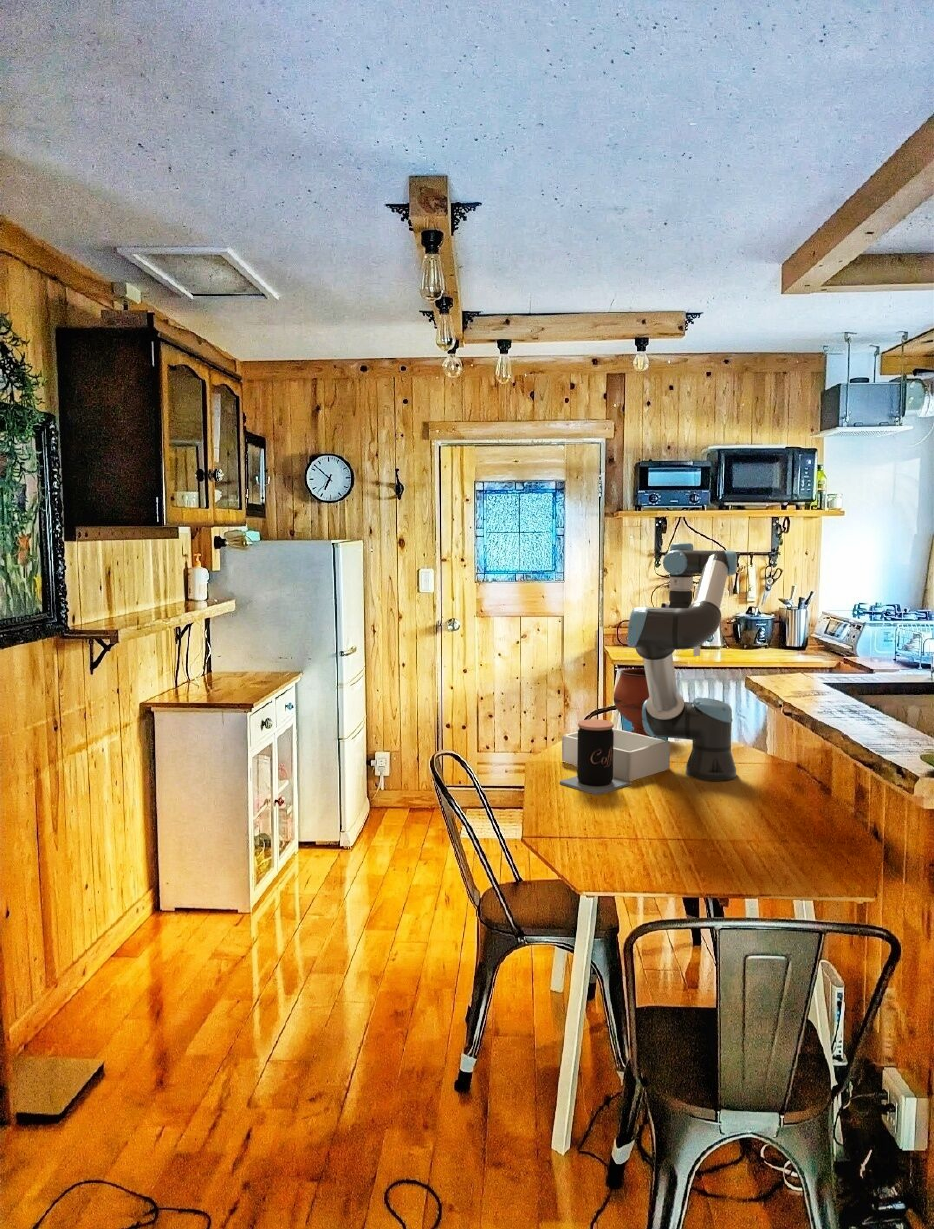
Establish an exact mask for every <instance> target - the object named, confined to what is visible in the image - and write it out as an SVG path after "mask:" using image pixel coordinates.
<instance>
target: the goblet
mask: <svg viewBox="0 0 934 1229" xmlns="http://www.w3.org/2000/svg"><path fill="white" fill-rule="evenodd" d="M649 697H650V696H649V691H648V685H647V679H646V674H645V668H625V669H621V670H620V676H619V678H618V680H617V683H616V685H615V689H614V692H613V704H614V706H615V708H616V710H617V711H618V713H619V714H620V715H621V716H622V717H623V718H625V719H626V720H627V721H628V722H630V723H631V726H632V727H633V729H632V730H631V732H632V733H636V734H640V735H644V736H649V737H652V736H650V735H648V734H647V733H646V732H645V730H644V727H643V722H642V721H643V718H642V708H643V704H644V702H645V701H646V700H648V698H649Z"/></svg>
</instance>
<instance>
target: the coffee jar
mask: <svg viewBox="0 0 934 1229" xmlns="http://www.w3.org/2000/svg"><path fill="white" fill-rule="evenodd" d="M614 725H615V724H614V722H612V721H610V720H605V719H596V718H593V719H592V718H591V719H582V720H579V721H578V722H577V726H578V730H577V732H578V747H577V766H576V773H577V774H576V776H577V778H578V780H579V781H580V783H581V784H584V785H587V786H606V785H609V784H610V783H611V782H612V780H613V778H614V777H613V747H614V732H613V730H612V728H614Z"/></svg>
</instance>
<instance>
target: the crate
mask: <svg viewBox="0 0 934 1229" xmlns="http://www.w3.org/2000/svg"><path fill="white" fill-rule="evenodd" d="M612 730H613V732H614V747H613V778H617V779H620V780H624V781H627V782H633V781H634V780H635V781H636V780H639V779H641V778H645V777H648V776H652V775H654V774H659V773H661V772H664V771H668V770H670V768H671V767H670V764H671V762H670V760H671V758H670V757H671V741H669V740H665V739H663V738H662V739H660V738H658V737H657V738H656V737H654V736H651V737H649V736H644V735H640V734H636V733H632V731H627V730H623V729H618V728H614V727H613V728H612ZM577 747H578V731H575V732H571V733H567V734H563V735H562V736H561V762H562V761H565V762H567V763H569V764H568V765H570V764H572V765H571V766H573V765H574V767H577Z"/></svg>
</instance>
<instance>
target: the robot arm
mask: <svg viewBox="0 0 934 1229" xmlns="http://www.w3.org/2000/svg"><path fill="white" fill-rule="evenodd" d="M662 566H663V569H664V570H665V572H667V574H669V589H670V590H669V592H668V601H669V602H663V603H661V606H660V607H653V606H652V607H651V606H650V607H649V606H647V605H645V606H637V607H634V608H633V609H632V611H631V612H630V615H629V619H628V625H627V634H626V643H627V646H628V647H630V648H632V649H633V648H634V649H635V652H636V653H637V654H638V656H639V657H641V659H642V661H643V662H642V663H643V667H644V668H643V669H645V674H646V679H647V685H648V691H649V696H650V697H649V698H648V700H646V701H645V702H644V704H643V708H642V718H643V721H642V722H643V727H644V730H645V732H646V733H647V734H648V735H650V736H651V737H655V738H656V737H657V738H659V739H660V738H667V739H678V740H679V739H681V740H691V741H692V744H691V746H692V748H691V751H690V753H689V754H690V755H689V758H688V759H687V763H686V765H685V766H686V767H685V773H686V775H687V776H689V777H691V778H694V779H698V780H702V781H710V782H711V781H713V782H724V781H730V780H734V779H736V777H737V766H736V763H735V760H734V757H733V753H732V726H733V725H732V724H733V710H732V706H730V705H729V704H728V703H727V702H724V701H722V700H720V699H715V698H710V697H695V698H694V699H693V700H692V702H689V701H685V700H684V698H683V697H682V695H681V694H680V693H679V692H678V686H677V685H678V684H677V678H676V672H675V663H674V657H673V653H674V652H675V651H676V650H681V651H682V650H683V651H685V650H691V649H693V654H692V656H693V657H701V647H702V646H703V644H704V643H706V642H707V641H708V640H710V638H711V637H713V636H714V635H715V633H716V632H717V631H718V629H719V627H720V625H721V620H722V611H721V604H722V600H723V597H724V596H723V595H724V593H725V592H724V591H725V588H726V583H727V579H728V576H733V575H736V573H737V570H738V555H737V552H736V551H733V550H725V549H722V550H698V549H696V550H694V544H693V543H691V542H674V543H671V544H670V548H669V552H667V553H666V554H665V555H664V557H663V559H662ZM694 575H700V578H699V582H698V586H697V588H696V592H695V596H694V598H693V595H694V594H693V589H694Z"/></svg>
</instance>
